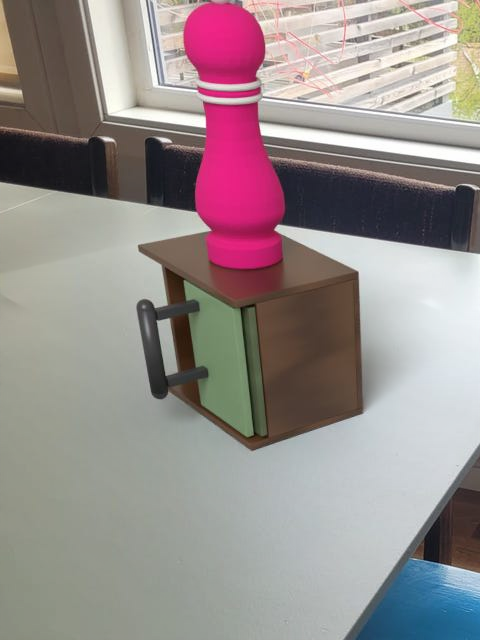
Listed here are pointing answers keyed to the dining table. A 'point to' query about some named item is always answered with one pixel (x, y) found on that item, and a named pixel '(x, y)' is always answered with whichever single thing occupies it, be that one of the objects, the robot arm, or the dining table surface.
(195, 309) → the closet door
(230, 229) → the pepper mill
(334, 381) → the cupboard
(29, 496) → the dining table surface
